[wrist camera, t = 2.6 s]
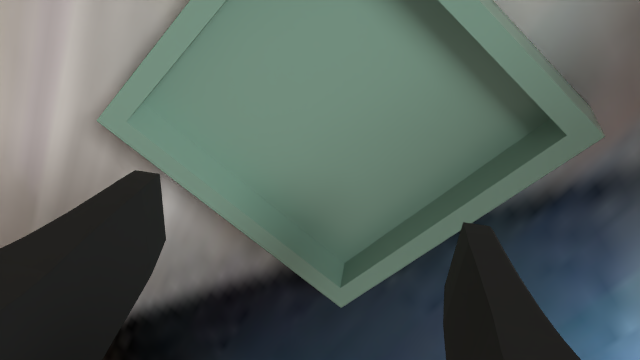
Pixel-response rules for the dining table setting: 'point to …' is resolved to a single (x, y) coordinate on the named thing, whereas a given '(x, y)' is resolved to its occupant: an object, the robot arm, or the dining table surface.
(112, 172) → the dining table surface
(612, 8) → the dining table surface
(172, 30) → the green tray
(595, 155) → the dining table surface
